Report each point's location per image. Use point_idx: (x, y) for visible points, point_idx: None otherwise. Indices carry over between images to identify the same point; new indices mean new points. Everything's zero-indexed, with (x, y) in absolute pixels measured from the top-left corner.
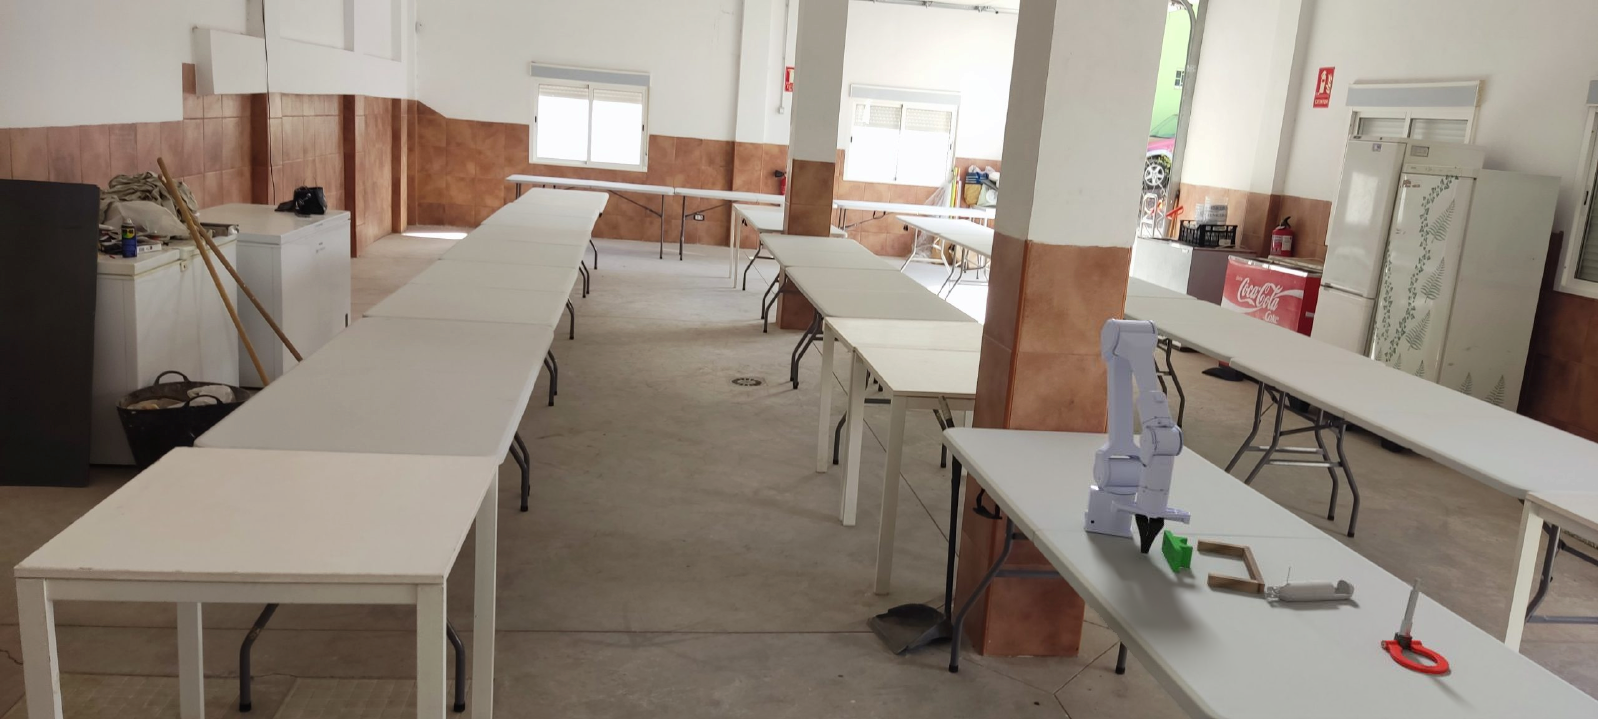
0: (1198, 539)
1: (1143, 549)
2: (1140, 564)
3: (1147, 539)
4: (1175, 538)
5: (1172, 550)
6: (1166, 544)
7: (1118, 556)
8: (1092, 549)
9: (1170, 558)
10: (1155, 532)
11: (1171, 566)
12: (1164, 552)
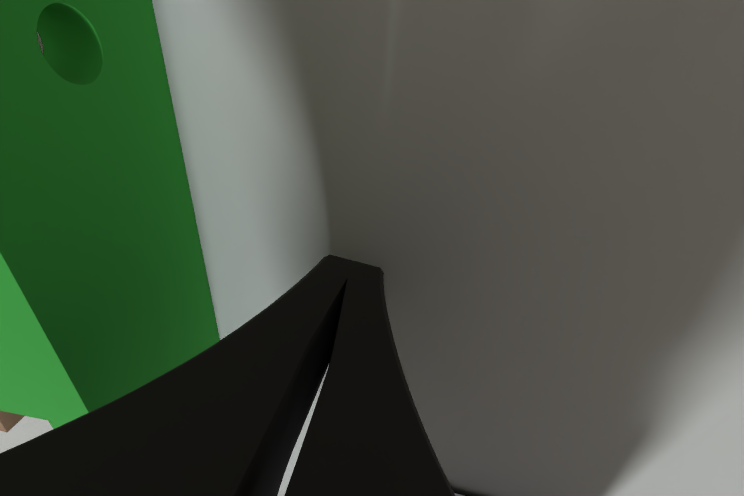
0: (5, 427)
1: (365, 278)
2: (432, 107)
3: (308, 365)
4: (15, 379)
5: (38, 158)
6: (153, 352)
7: (570, 253)
8: (729, 351)
9: (135, 154)
10: (142, 425)
11: (149, 62)
12: (200, 314)
